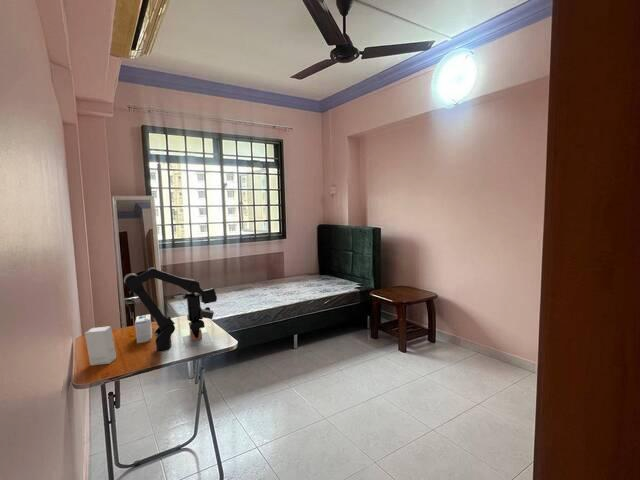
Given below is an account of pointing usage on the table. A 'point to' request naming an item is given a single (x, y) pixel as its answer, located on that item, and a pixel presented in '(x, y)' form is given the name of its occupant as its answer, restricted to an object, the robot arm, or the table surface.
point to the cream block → (193, 334)
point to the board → (195, 342)
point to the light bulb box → (143, 328)
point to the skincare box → (100, 345)
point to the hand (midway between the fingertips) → (197, 337)
